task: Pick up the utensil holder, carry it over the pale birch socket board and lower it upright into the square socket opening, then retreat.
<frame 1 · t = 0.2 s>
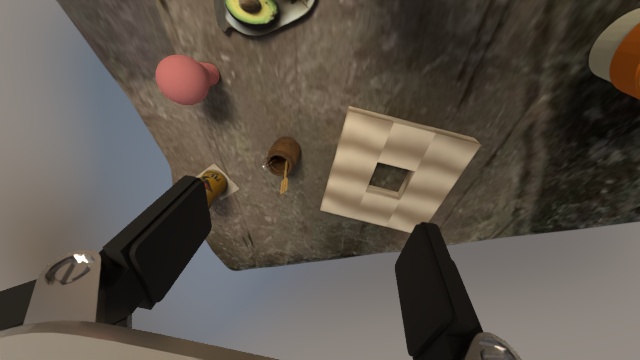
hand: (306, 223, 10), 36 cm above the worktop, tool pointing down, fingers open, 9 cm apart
light bulb: (212, 71, 43), on the worktop
socket board: (387, 174, 50), on the worktop
condiment: (218, 181, 58), on the worktop
reusable coffee cup: (627, 44, 33), on the worktop
utensil holder: (288, 148, 50), on the worktop
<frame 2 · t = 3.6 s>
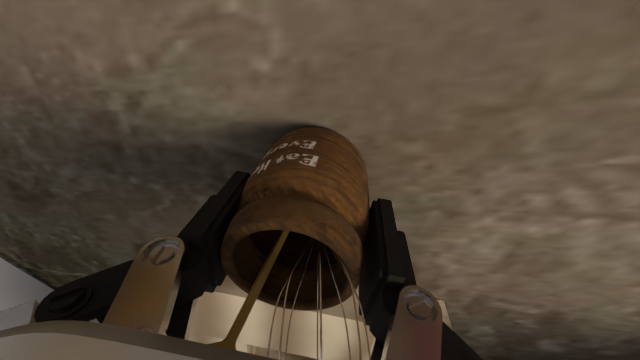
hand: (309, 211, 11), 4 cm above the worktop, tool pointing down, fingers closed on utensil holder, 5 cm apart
socket board: (290, 335, 26), on the worktop
utensil holder: (315, 170, 14), on the worktop, touching gripper
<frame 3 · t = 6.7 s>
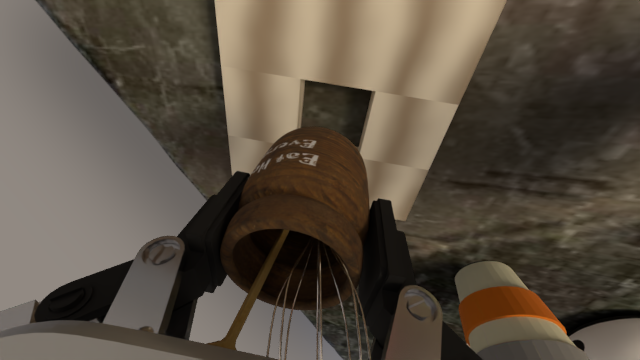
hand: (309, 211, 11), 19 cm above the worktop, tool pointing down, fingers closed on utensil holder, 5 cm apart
socket board: (334, 113, 28), on the worktop
reusable coffee cup: (482, 276, 41), on the worktop
utensil holder: (315, 169, 14), point 16 cm above the worktop, touching gripper
milk container: (610, 329, 44), on the worktop
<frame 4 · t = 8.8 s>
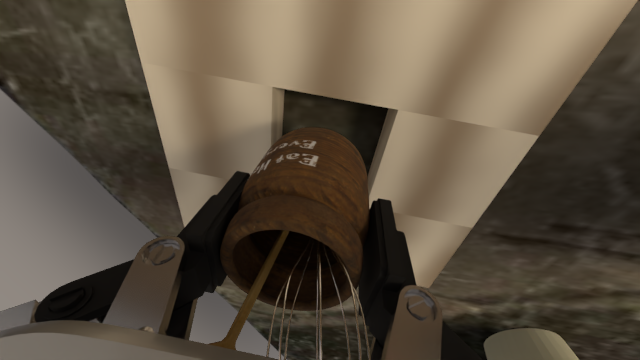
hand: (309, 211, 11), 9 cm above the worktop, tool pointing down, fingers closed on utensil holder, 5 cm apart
socket board: (329, 136, 19), on the worktop
reusable coffee cup: (520, 343, 31), on the worktop
utensil holder: (315, 170, 14), point 5 cm above the worktop, touching gripper
when the fingers open (5 cm above the worktop, at t = 10.1 s): utensil holder drops 1 cm, resting in socket board.
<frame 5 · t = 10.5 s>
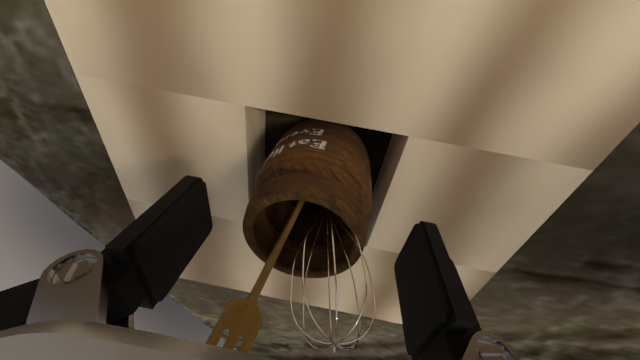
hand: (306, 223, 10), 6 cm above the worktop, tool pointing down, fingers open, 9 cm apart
socket board: (321, 161, 15), on the worktop
utensil holder: (321, 158, 15), resting in socket board
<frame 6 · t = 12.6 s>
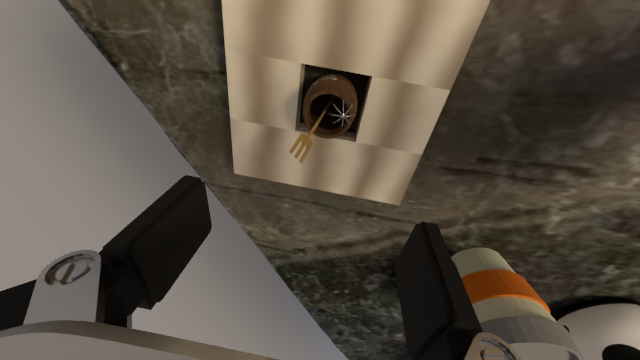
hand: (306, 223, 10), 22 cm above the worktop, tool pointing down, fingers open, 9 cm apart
socket board: (332, 98, 29), on the worktop
reusable coffee cup: (473, 263, 42), on the worktop
utensil holder: (332, 98, 29), resting in socket board
milk container: (594, 316, 46), on the worktop
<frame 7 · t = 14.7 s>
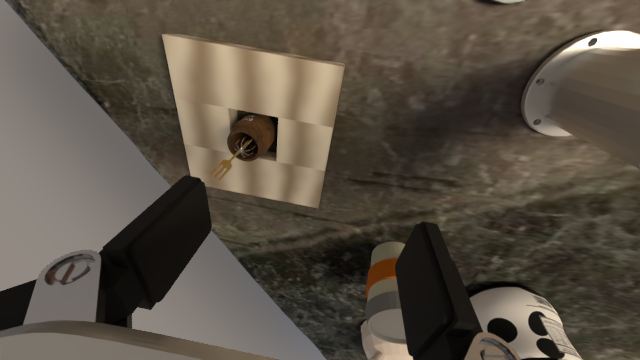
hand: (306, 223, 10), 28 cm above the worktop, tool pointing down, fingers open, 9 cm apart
socket board: (260, 129, 39), on the worktop
reusable coffee cup: (392, 254, 52), on the worktop
kettle: (394, 329, 70), on the worktop
utensil holder: (260, 128, 39), resting in socket board
milk container: (497, 299, 56), on the worktop
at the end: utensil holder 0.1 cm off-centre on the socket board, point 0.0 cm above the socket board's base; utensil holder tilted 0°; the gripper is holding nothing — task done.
